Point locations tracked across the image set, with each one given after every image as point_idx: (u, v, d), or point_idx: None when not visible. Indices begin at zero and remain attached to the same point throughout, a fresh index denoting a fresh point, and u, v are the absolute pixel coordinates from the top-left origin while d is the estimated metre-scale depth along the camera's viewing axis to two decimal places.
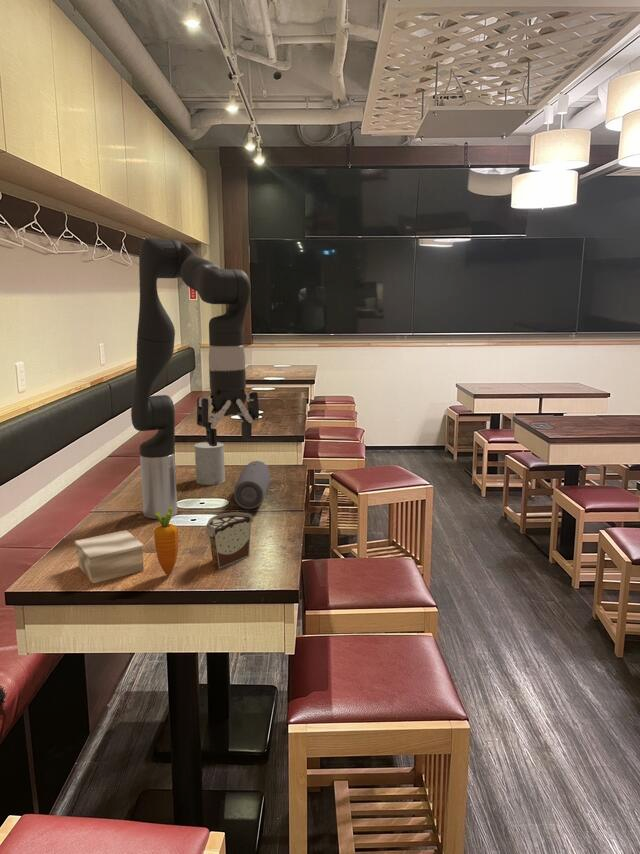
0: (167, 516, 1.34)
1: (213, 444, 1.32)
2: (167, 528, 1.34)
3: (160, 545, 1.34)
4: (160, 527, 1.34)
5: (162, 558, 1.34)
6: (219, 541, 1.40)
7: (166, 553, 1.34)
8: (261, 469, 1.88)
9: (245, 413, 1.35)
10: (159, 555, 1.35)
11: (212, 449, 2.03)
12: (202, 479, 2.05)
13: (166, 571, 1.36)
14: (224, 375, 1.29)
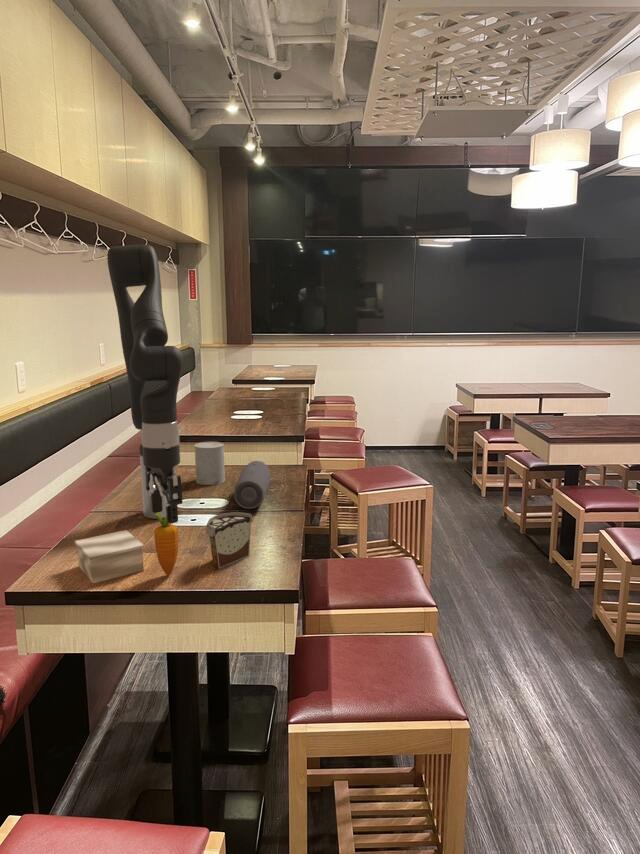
0: None
1: (176, 520, 1.31)
2: (167, 528, 1.34)
3: (160, 545, 1.34)
4: (160, 527, 1.34)
5: (162, 558, 1.34)
6: (219, 541, 1.40)
7: (166, 553, 1.34)
8: (261, 469, 1.88)
9: None
10: (159, 555, 1.35)
11: (212, 449, 2.03)
12: (202, 479, 2.05)
13: (166, 571, 1.36)
14: (178, 449, 1.31)
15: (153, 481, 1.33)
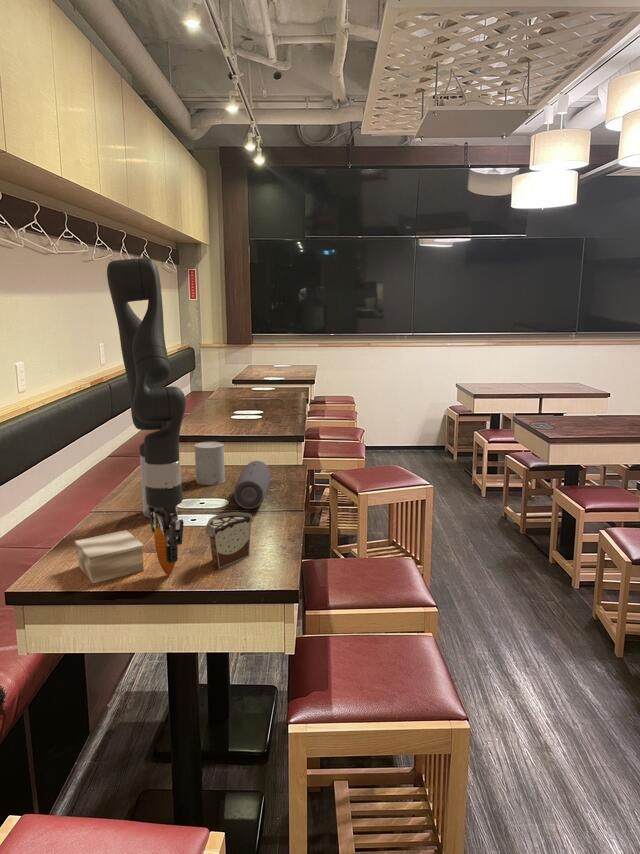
0: None
1: None
2: None
3: (160, 545, 1.34)
4: (160, 527, 1.34)
5: (162, 559, 1.34)
6: (219, 541, 1.40)
7: None
8: (261, 469, 1.88)
9: None
10: (159, 555, 1.35)
11: (212, 449, 2.03)
12: (202, 479, 2.05)
13: (166, 571, 1.36)
14: (180, 488, 1.33)
15: (156, 519, 1.35)
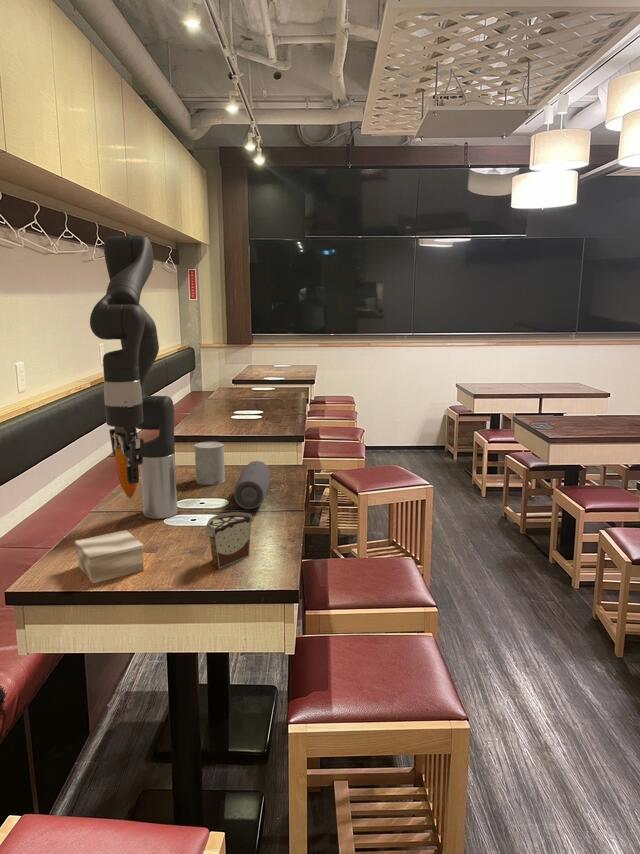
0: None
1: (137, 480, 1.34)
2: None
3: (121, 466, 1.33)
4: None
5: (123, 480, 1.34)
6: (219, 541, 1.40)
7: None
8: (261, 469, 1.88)
9: None
10: (120, 476, 1.34)
11: (212, 449, 2.03)
12: (202, 479, 2.05)
13: (128, 493, 1.35)
14: (141, 408, 1.32)
15: (117, 440, 1.34)
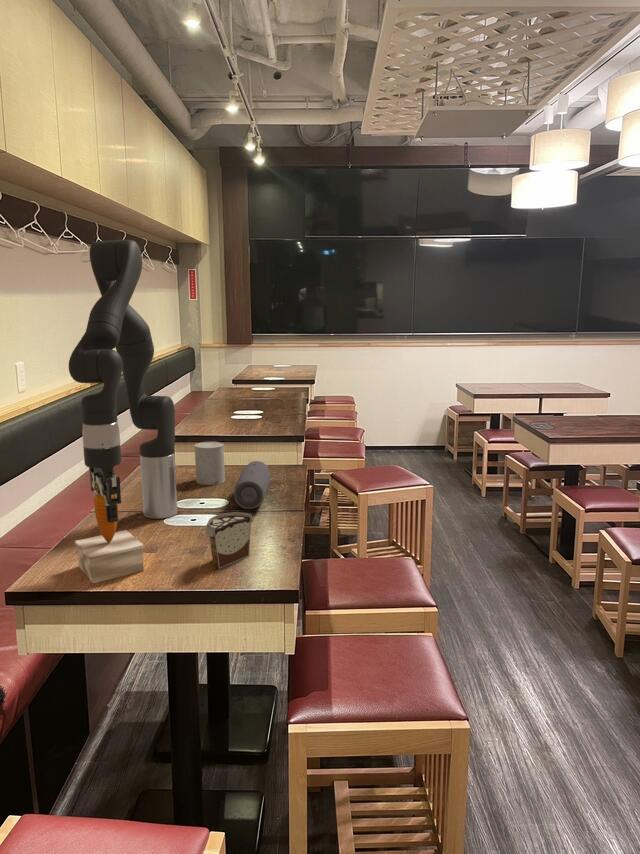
0: None
1: (116, 519, 1.36)
2: None
3: (99, 512, 1.36)
4: (99, 494, 1.37)
5: (101, 525, 1.37)
6: (219, 541, 1.40)
7: (105, 520, 1.37)
8: (261, 469, 1.88)
9: None
10: (98, 522, 1.37)
11: (212, 449, 2.03)
12: (202, 479, 2.05)
13: (106, 538, 1.39)
14: (118, 449, 1.35)
15: (95, 480, 1.37)
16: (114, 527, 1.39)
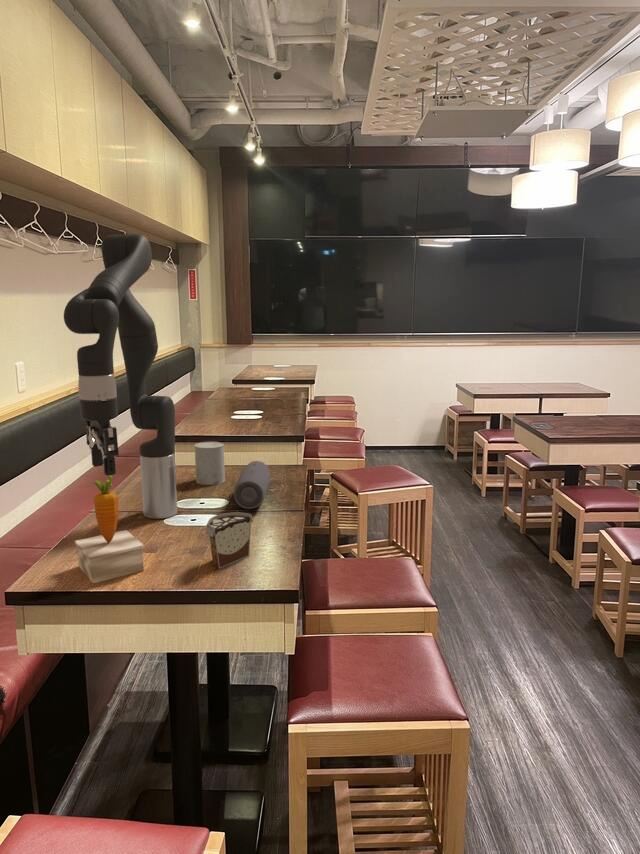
0: (106, 483, 1.36)
1: (114, 472, 1.33)
2: (106, 495, 1.37)
3: (99, 512, 1.36)
4: (100, 494, 1.37)
5: (101, 525, 1.37)
6: (219, 541, 1.40)
7: (105, 520, 1.37)
8: (261, 469, 1.88)
9: None
10: (99, 522, 1.37)
11: (212, 449, 2.03)
12: (202, 479, 2.05)
13: (106, 538, 1.39)
14: (115, 402, 1.33)
15: (92, 434, 1.35)
16: (114, 527, 1.39)
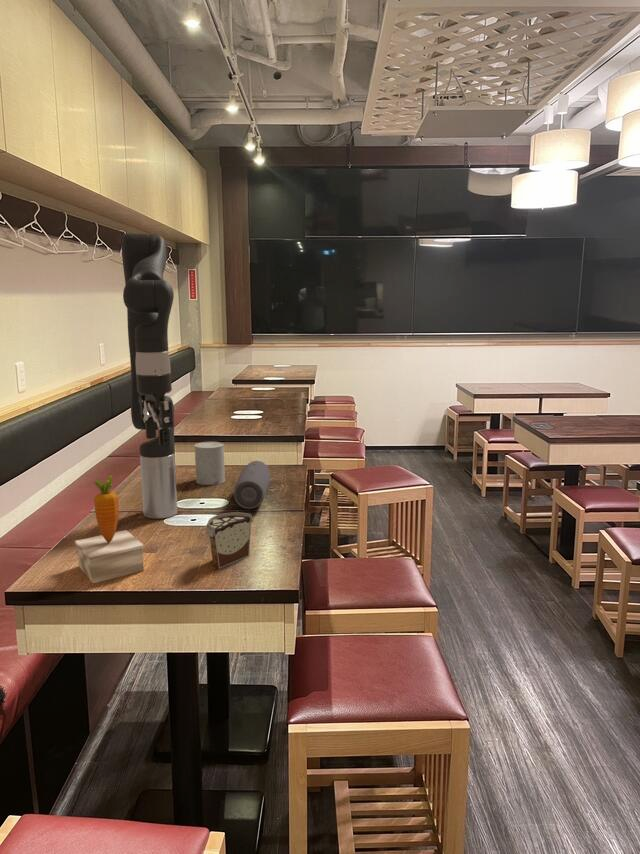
0: (106, 483, 1.37)
1: (168, 443, 1.42)
2: (106, 495, 1.37)
3: (99, 512, 1.36)
4: (100, 494, 1.37)
5: (101, 525, 1.37)
6: (219, 541, 1.40)
7: (105, 520, 1.37)
8: (261, 469, 1.88)
9: None
10: (99, 522, 1.37)
11: (212, 449, 2.03)
12: (202, 479, 2.05)
13: (106, 538, 1.39)
14: (169, 377, 1.41)
15: (147, 408, 1.44)
16: (114, 527, 1.39)
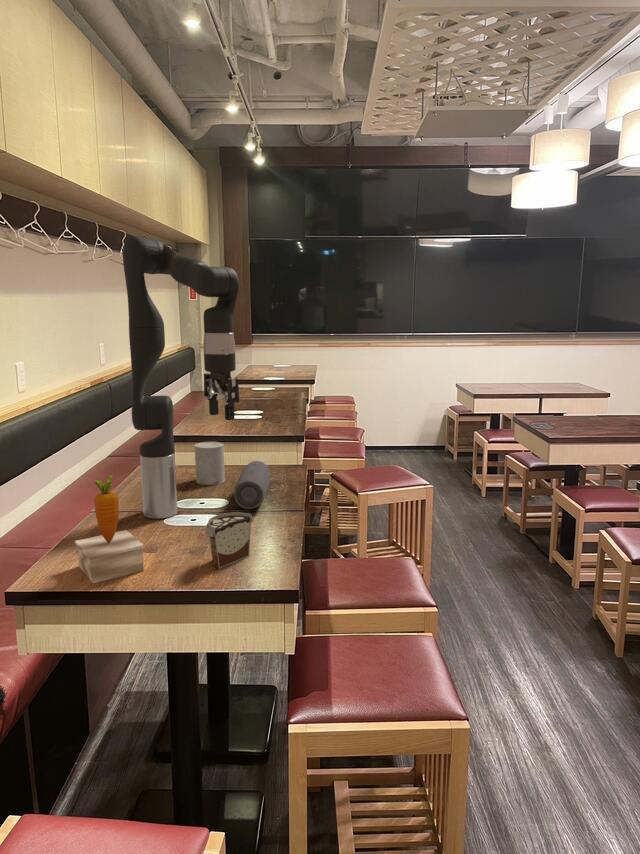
0: (107, 483, 1.36)
1: (233, 417, 1.53)
2: (106, 495, 1.37)
3: (99, 512, 1.36)
4: (100, 494, 1.37)
5: (101, 525, 1.37)
6: (219, 541, 1.40)
7: (105, 520, 1.37)
8: (261, 469, 1.88)
9: None
10: (99, 522, 1.37)
11: (212, 449, 2.03)
12: (202, 479, 2.05)
13: (106, 538, 1.39)
14: (234, 357, 1.53)
15: (212, 385, 1.55)
16: (114, 527, 1.39)
